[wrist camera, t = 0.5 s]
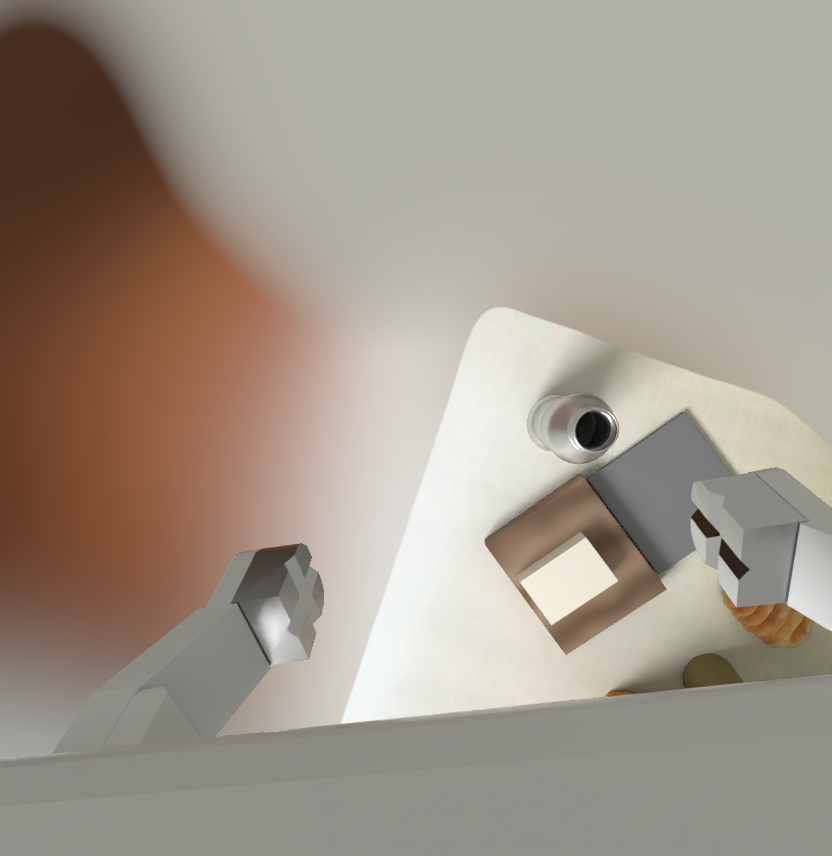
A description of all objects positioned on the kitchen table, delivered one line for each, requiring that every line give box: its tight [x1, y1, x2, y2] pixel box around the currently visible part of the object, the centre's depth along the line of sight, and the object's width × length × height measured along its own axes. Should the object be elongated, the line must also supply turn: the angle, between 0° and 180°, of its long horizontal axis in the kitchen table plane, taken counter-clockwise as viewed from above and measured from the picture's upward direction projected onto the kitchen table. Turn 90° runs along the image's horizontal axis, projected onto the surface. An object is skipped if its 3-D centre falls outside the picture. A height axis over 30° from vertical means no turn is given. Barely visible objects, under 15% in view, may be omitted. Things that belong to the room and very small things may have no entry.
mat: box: [587, 413, 732, 574], centre depth 57 cm, size 14×14×1 cm
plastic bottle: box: [527, 393, 619, 464], centre depth 49 cm, size 6×7×20 cm
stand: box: [485, 474, 666, 655], centre depth 58 cm, size 16×14×2 cm
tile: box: [518, 532, 618, 625], centre depth 55 cm, size 6×9×2 cm, turn 127°
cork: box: [683, 654, 744, 689], centre depth 53 cm, size 6×6×11 cm
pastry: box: [722, 588, 814, 648], centre depth 56 cm, size 9×7×4 cm
